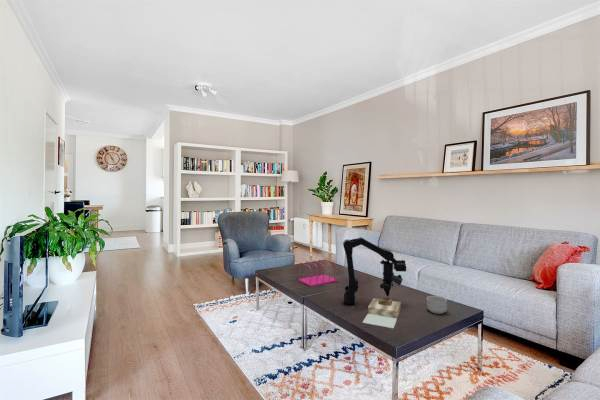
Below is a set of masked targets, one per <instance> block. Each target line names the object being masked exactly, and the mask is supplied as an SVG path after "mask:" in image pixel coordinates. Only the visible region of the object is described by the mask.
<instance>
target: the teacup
mask: <svg viewBox="0 0 600 400" xmlns="http://www.w3.org/2000/svg"><path fill="white" fill-rule="evenodd" d="M447 301H448V299H447V298H446V297H444V296H443V295H429V296H427V297H426V307H427V309H428V311H430V312H431V313H432V314H437V315H441V314H444V313H446V311H447V310H448V302H447Z"/></svg>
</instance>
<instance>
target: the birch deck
mask: <svg viewBox="0 0 600 400" xmlns="http://www.w3.org/2000/svg"><path fill="white" fill-rule="evenodd" d="M379 299H380V298H375V297H373V298H372V300H371V301H370V303H369V305H368V306H367V314H374V315H380V316H386V317H392V318H397V319H398V318H399V315H400V312H401V310H402V302H401V301H397V300H392V304H391V306H388V305H381V304H378V300H379Z"/></svg>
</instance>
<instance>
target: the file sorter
mask: <svg viewBox="0 0 600 400" xmlns="http://www.w3.org/2000/svg"><path fill="white" fill-rule="evenodd" d="M326 260H327V261H326ZM320 261H321V262H320ZM328 261H330V262H331V263H334V266H335V271H334V272H335V274H334V277H331V264H330V263H329V262H328ZM314 262H316V263H317V264H316V263H314ZM322 262H323V263H322ZM307 263H309V264H311V266H310V265H308V264H307ZM325 263H326V264H328V266H329V267H328V268H329V269H328V273H329V274H328V275H327V274H325V268H326V267H325V265H326V264H325ZM301 264H302V265H304V268H305V273H307V267H308V268H309V277H308V276H306V277H302V278H301ZM319 264H320V265H322V274H321V275H319V269H320V265H319ZM314 266H315V271H316V274H315V275H314V273H313V272H314ZM298 271H299V272H298V273H299V274H298V275H299V276H298V277H299V278H298V279H297V282H300V283H301V284H303V285H305V286H308V287H309V288H311V287H315V286H317V287H318V286H321V285H326V284H331V283H336V282H338V279H337V263H336V262H335V261H333V260H331V259H328V258H324V259H323V260H322V259H318V260H315V259H314V260H312V262H311V261H308V260H306V261H305V263H304V262H299V265H298Z"/></svg>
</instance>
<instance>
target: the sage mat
mask: <svg viewBox="0 0 600 400" xmlns="http://www.w3.org/2000/svg"><path fill="white" fill-rule="evenodd" d="M397 320H398V318H392V317H386V316H380V315H374V314H368V313H367V314H366V316H365V318H364V319H363V321H362V324H367V325H372V326H377V327H384V328H388V329H394V328H395V326H396V323H397Z"/></svg>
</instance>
